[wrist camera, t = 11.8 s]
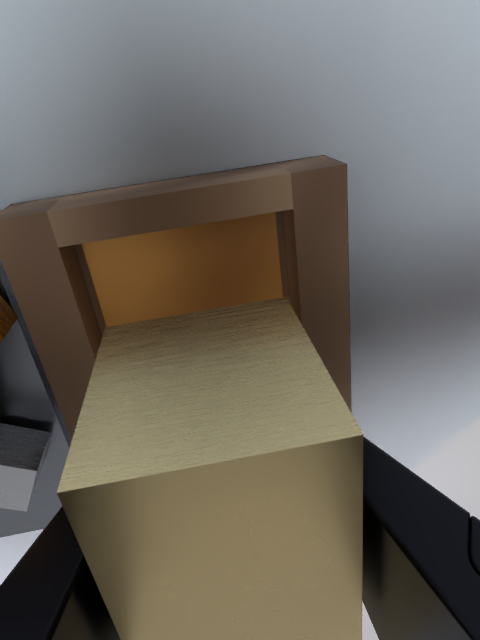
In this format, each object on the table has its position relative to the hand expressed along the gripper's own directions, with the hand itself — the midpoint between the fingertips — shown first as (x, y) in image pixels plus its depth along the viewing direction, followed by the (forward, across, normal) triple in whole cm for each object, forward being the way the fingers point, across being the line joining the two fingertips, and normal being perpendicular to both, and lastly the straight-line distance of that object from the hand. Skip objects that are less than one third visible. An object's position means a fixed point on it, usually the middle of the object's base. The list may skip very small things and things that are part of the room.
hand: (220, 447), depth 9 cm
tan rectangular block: (+1, 0, 0) cm, 1 cm away
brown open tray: (+4, 0, 0) cm, 4 cm away
